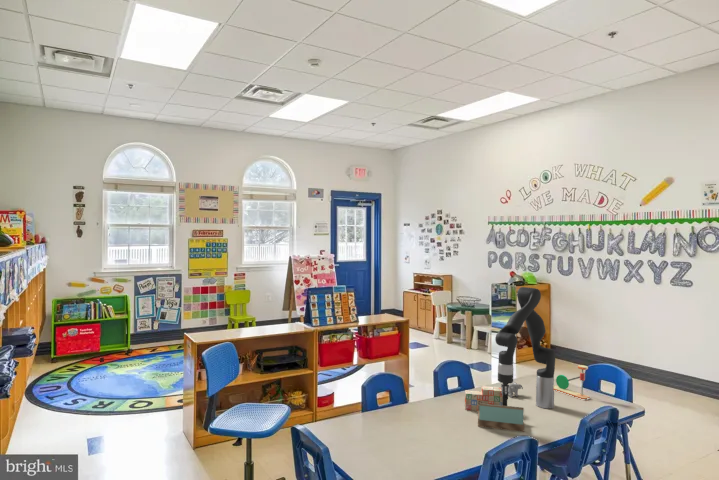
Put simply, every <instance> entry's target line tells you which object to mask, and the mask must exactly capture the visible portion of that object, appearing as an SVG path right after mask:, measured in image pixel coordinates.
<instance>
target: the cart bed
mask: <svg viewBox="0 0 719 480" xmlns="http://www.w3.org/2000/svg"><path fill="white" fill-rule="evenodd" d="M479 407H480V406H478V411H477V427H480V428H488V429H497V430H504V431H512V432H520V433H521V432H523V433H524V432H525V421H524V420H523V425H522V424H513V423H504V422H495V421H486V420H479Z"/></svg>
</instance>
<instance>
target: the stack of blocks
mask: <svg viewBox="0 0 719 480" xmlns="http://www.w3.org/2000/svg"><path fill="white" fill-rule="evenodd" d="M480 403H483V404H493V405H502V403H503V399H502V393H501V387H498V386H483V385H482V386H481V390H480V391H479V390H467V389H465V391H464V409H465V410H466V411H475V412H478V406H480ZM502 406H503V405H502Z"/></svg>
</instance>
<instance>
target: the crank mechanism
mask: <svg viewBox="0 0 719 480" xmlns="http://www.w3.org/2000/svg"><path fill="white" fill-rule="evenodd" d="M577 369H579V370H581V372H579V376H576V377H572V378H570V379H568V378H567V377H568V376H565V374H559V375H557V376H556V378H555V383H556V384H554V390H557V391H560V392H563V393H566V394H569V395H572V396H574V397H573V398H575V397H578V398H581V399H587V398H590V399H591V397H590V396H589V395H588V394H587V395H586V394H583V393H584V391H583V390H584V388H583V387H584V385H583V384H584V383H583V382H585V381H586V373H585V372H584V371H586V370H587V371H588V370H589V366H587V365H584V364H583V365H582V364H578V365H577ZM577 379H579V380H580V381H581V393H580V392H577V391H574V390H571V389H568V387H569V386H570V381H574V380H577ZM557 391H556V392H557ZM560 392H559V393H560ZM563 393H562V394H563ZM566 394H565V395H566ZM569 395H568V396H569ZM572 396H571V397H572ZM578 398H577V399H578ZM581 399H580V400H581Z"/></svg>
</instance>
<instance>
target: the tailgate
mask: <svg viewBox="0 0 719 480" xmlns="http://www.w3.org/2000/svg"><path fill="white" fill-rule="evenodd" d="M524 411H525V409H524V407H520V406H512V405H511V406H510V405H509V406H508V405H507V406H502V405H493V404H483V403H480V407H479V420H486V421H495V422H504V423H513V424H522V425H523V421H524Z"/></svg>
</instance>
